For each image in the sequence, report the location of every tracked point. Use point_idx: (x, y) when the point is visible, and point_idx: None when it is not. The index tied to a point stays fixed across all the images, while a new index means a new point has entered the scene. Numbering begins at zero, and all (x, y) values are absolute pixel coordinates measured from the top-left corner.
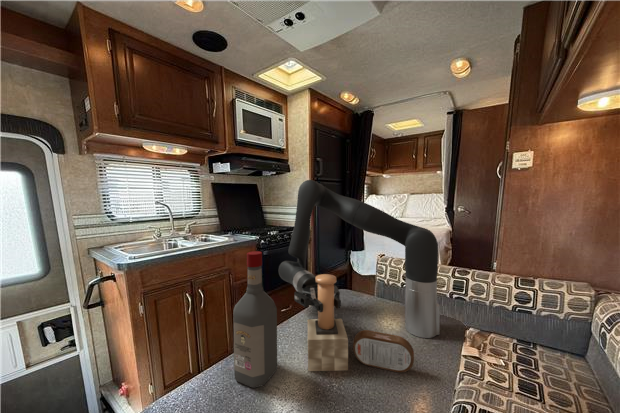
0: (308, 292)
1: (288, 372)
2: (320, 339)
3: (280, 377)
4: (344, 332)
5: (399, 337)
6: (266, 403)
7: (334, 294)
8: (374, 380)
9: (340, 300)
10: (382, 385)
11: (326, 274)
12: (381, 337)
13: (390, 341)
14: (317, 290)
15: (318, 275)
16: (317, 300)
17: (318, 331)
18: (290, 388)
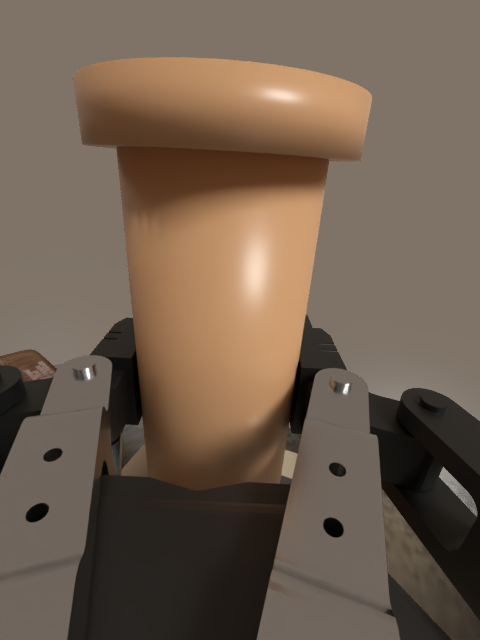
0: (419, 617)
1: (422, 608)
2: (290, 453)
3: (455, 591)
4: (145, 452)
5: (3, 357)
6: (470, 497)
7: (80, 359)
8: (137, 443)
9: (119, 321)
10: (134, 425)
11: (128, 64)
12: (50, 376)
13: (48, 362)
14: (167, 616)
15: (300, 73)
16: (311, 344)
17: (290, 478)
18: (400, 518)
